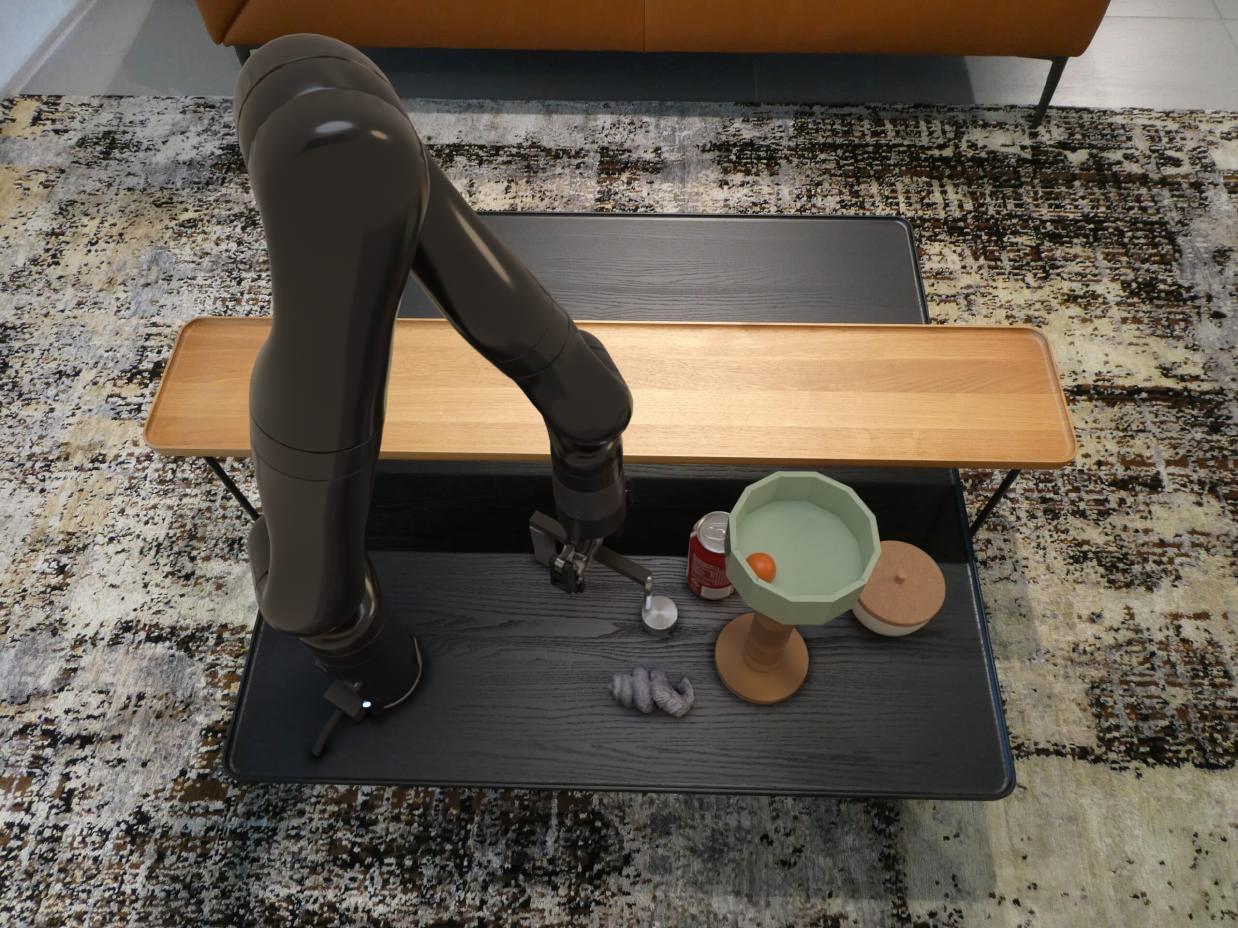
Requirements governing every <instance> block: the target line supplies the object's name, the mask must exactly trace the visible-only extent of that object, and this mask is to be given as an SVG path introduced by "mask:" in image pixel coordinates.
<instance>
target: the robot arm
mask: <svg viewBox="0 0 1238 928" xmlns="http://www.w3.org/2000/svg"><path fill="white" fill-rule="evenodd" d="M232 102H233V103H232V114H233V121H234V128H235V134H236V139H237V142H238V147H239V149H240V152H241V155H242V158H243V162H244V165H245V168H246V172H247V175H248V178H249V182H250V188H251V191H252V194H253V197H254V200H255V204H256V206H257V210H258V213H259V216H260V220H261V224H262V228H263V233H264V239H265V244H266V245H265V246H266V251H267V256H268V265H269V266H268V267H269V275H270V287H271V294H272V295H271V297H272V321H271V323H272V324H271V327H270V331H269V334H268V337H267V339H266V340H265V341H264V343H263V345H262V346H261V347H260V349H259V352H258V353H257V355H256V359H255V361H254V365H253V367H252V371H251V374H250V379H249V391H248V414H249V415H248V416H249V421H248V422H249V439H250V451H251V457H252V465H253V470H254V477H255V481H256V486H257V491H258V495H259V500H260V504H261V508H262V512H263V513H262V515H260V516H259V517H258V518H257V519H256V520H255V522H254V523H253V525H252V526H251V527H250V530H249V532H248V535H247V539H246V550H247V556H248V562H249V568H250V574H251V578H252V583H253V589H254V593H255V599H256V603H257V607H258V610H259V612H260V614H261V616H262V618H263V619H264V620H265V622H266V623H267V624H268V625H269V626H270V627H271V628H272V629H274V630H275V631H277V632H279V633H281V634H284V635H286V636H290V637H294V638H298V639H299V641H301V643H302V644H303V645H304V646H305V647H306V648H307V650H309V651H310V653H311V654H312V655H313V656H314V657H315V658H316V660H315V662H314V666H315V667H316V668H317V669H318V670H319V671H320V672H321V674H322V675H323V676H324V677H325V678H326V679H327V680H328V681H329V682H330V683H331V685H330V686H329V687H328V689H327V690H326V691H325V693H323V695H322V697H323V698H324V700H325V701H326V702H327V703H328V704H330V705H331V706H332V707H334V708H335V710H334V711H333V713H332V714H331V716H330V717H329V719H328V720H327V722H326V723H325V724H324V726H323V728H322V730H321V731H320V733H319V734H318V737H317V738H316V741H315V743H314V746H313V748H312V750H311V752H310V753H312V754H313V755H314V756H315V757H317V758H319V757H320V755H321V753H322V751H323V748H324V746H325V744H326V742H327V740H328V738H329V736H330V735H331V733H332V731H333V730H334V728H335V727H336V725H337V724H338V722H339V721H340V719H341V718H342V716H343V715H344V714H345V715H346V716H347V717H349V718H351V719H352V720H353V721H354V722H355V721H356V722H357V723H360V722H361V721H362V719H363V718H364V717H365V716H366V714H367V713H370V714H371V715H373V716H374V717H376V718H380V717H381V716H382V715H383V714H384V712H385V711H388V710H391V709H393V708H396V707H398V706H400V705H402V704H403V703H404V702H406V701H407V700H408V699H409V698H410V697H411V696H412V695H413V694H414V693H415V691H416V690H417V688H418V687H419V686H420V683H421V680H422V677H423V672H424V662H423V657H422V654H421V652H420V650H419V648H418V643H417V639H416V637H415V636H413V639H412V638H411V637H410V634H409V633H408V631H407V630H406V628H405V626H404V624H403V623H402V620H401V619H400V617H399V616H398V614H397V612H396V611H395V609H394V607H393V604H391V602H390V599H388V597H387V595H386V593H385V592H384V590H383V588H382V586H381V584H380V583H381V582H380V580H379V578H378V575H377V572H376V569H375V567H374V563H373V562H372V559H371V558H370V556H369V553H368V551H367V549H366V548H365V534H366V527H367V522H368V517H369V513H370V508H371V503H372V497H373V491H374V485H375V481H376V474H377V466H378V462H379V456H380V452H381V448H382V443H383V436H384V429H385V424H386V416H387V408H388V397H389V395H388V394H389V386H390V379H391V371H392V365H393V357H394V343H395V332H396V325H397V320H398V316H399V315H398V314H399V311H400V308H401V303H402V301H403V300H402V299H403V296H404V293H405V290H406V286H407V282H408V279H409V275H410V276H411V277H412V279H413V280H414V281H415V282H416V283H417V284H418V286H419V287H420V288H421V289H422V291H423V292H424V294H426V296H427V297H428V299H429V300H430V301H431V302H432V304H433V305H434V306H435V308H436V310H438V311H439V312H440V314H441V315H442V316H443V318H444V319H445V321H447V323H448V324H449V325H450V326H451V327H452V329H453V330H454V331H455V332H456V333H457V334H458V335H459V337H461V338H462V339H463V340H464V341H465V342H466V343H467V344H468V345H469V346H470V347H471V348H472V349H473V350H475V352H477V354H479V355H480V356H481V357H482V358H484V359H485V360H486V361H487V362H488V363H490V364H491V366H493V367H494V368H495V369H497V371H499V372H500V373H502V374H503V375H504V376H505V377H507V378H508V379H510V380H511V381H512V382H513V383H514V384H515V385H516V386H517V387H518V389H520V391H522V393H523V394H524V395H525V397H526V398H527V399H528V400H529V402H530V403H531V404H532V406H533V407H534V408H535V409H536V410H537V412H538V413H539V414H540V415H541V416H542V419H543V422H544V425H545V428H546V431H547V435H548V440H549V451H550V452H549V453H550V459H551V467H552V469H551V483H552V491H553V497H554V498H553V499H554V504H555V509H556V510H555V512H556V516H557V521H558V522H559V523H560V524H561V526H562V527H563V529H564V530H565V532H566V533H567V535H566V540H565V544H563V545H564V546H563V549H562V551H561V553H560V554H558V553H557V554H556V553H553V554H552V555H551V556H550V558H549V566H548V571H549V581H550V585H552V586H553V587H556V588H558V589H559V590H561V591H563V592H565V593H566V594H568V595H571V594H572V593H574V594H576V595H578V594H581V595H582V594H584V592H585V590H586V577H585V574H586V571H587V569H588V568H589V567H591V566H592V565H593V563H594V562H595V560H594V558H595V555H596V552H597V549H598V547H599V546H600V545H603V541H604V539H605V538H606V537H608V536H610V535H611V536H614V537H615V538H617V539H618V538H619V539H620V538H621V537H622V536H623V534H624V520H625V519H626V517H627V513H628V512H627V507H632V505H633V504H634V502H635V484H634V477H633V476H632V475H630V474H627V473H626V467H625V464H624V441H623V433H624V432H625V431H626V430H627V428H628V427H629V425H630V422H631V421H632V417H633V414H634V398H633V394H632V392H631V389H630V387H629V385H628V384H627V382H626V380H625V379H624V377H623V375H622V374H621V372H620V370H619V368H618V367H617V365H616V363H615V361H614V360H613V358H612V357H611V355H610V353H609V351H608V350H607V348H606V347H605V345H604V344H603V343H602V342H601V340H600V339H599V338H598V337H597V336H595V335H594V334H593V333H590V332H589V331H587V330H584V329H580V328H578V326H577V324H576V322H575V321H574V319H573V318H572V317H571V315H570V314H569V312H568V311H567V310H566V309H565V307H564V306H563V305H562V303H560V302H559V300H557V298H555V296H554V295H553V294H552V293H551V292H550V291H549V290H548V289H547V288H546V286H545V285H543V283H542V282H541V281H540V280H539V278H537V276H535V275H534V274H533V272H532V271H531V270H530V269H529V268H528V267H527V266H526V265H525V264H524V263H523V262H522V261H521V260H520V259H519V258H518V256H516V254H514V252H513V251H512V250H511V249H510V248H509V247H508V246H507V245H506V244H505V242H503V241H502V239H500V238H499V236H498V235H497V234H496V233H495V232H494V231H493V230H492V229H491V228H490V227H489V225H488V224H487V223H486V222H485V221H484V220H483V218H481V217H480V216H479V214H478V213H477V212H476V211H475V210H474V209H473V207H472V206H471V205H470V204H469V202H468V201H467V200H466V199H465V198H464V196H463V195H462V194H461V193H460V192H459V190H458V188H456V186H455V185H454V184H453V183H452V182H451V180H450V179H449V177H448V175H446V174H445V172H444V171H443V170H442V168H441V167H440V165H439V164H438V163H437V161H436V160H435V158H434V157H433V156H432V154H431V153H430V152H429V150H428V149H427V147H426V146H425V145H424V142H423V141H422V140H421V138H420V136H419V134H418V133H417V131H416V128H415V126H414V125H413V123H412V120H411V118H410V117H409V115H408V112H407V110H406V109H405V106H404V104H403V102H402V100H401V98H400V96H399V94H398V92H397V90H396V89H395V88H394V86H393V85H392V82H390V80H389V78H388V77H387V76H386V75H385V73H384V72H383V71H382V70H381V68H379V66H378V65H376V63H374V62H373V61H372V60H371V59H370V58H369V57H368V56H367V55H365V54H364V53H362V52H361V51H359V50H358V49H356V47H354V46H352V45H350V44H348V43H345V42H343V41H341V40H340V39H337V38H334V37H331V36H326V35H323V34H320V33H304V32H301V33H294V34H293V33H292V34H285V35H282V36H280V37H277V38H274V39H272V40H269V41H268V42H266V43H265V44H263V45H262V46H261V47H259V48H258V49H256V50H255V51H254V52H253V53H252V54H251V55H250V56H249V57H248V58H247V59H246V61H245V62H244V64H243V66H242V67H241V69H240V71H239V73H238V75H237V79H236V82H235V86H234V88H233V101H232ZM584 552H588V555H587V556H586V555H584V554H582V553H584ZM577 566H578V569H576V567H577ZM413 640H414V641H413Z"/></svg>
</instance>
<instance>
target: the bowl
mask: <svg viewBox="0 0 1238 928" xmlns="http://www.w3.org/2000/svg"><path fill="white" fill-rule="evenodd" d="M880 542H881V540H880V535H879V528H878V523H877V518H876V515H875V514H874V513H873V512H872V511H871V509H870V508H869V507H868V506H867V504H866V503H865V502H864V501H863V500H862V499H861V497H859V495H858V493H856V491H855V490H854V489H853V488H852V487H850V486H848V485H846V484H843V483H842V482H839V481H837V480H835V479H833V478H831V477H828V476H826V475H824V474H822V473H820V472H817V471H793V470H792V471H785V470H784V471H781V470H780V471H778V470H777V471H776V472H774V473H771V474H770V475H768V476H765V477H764V478H762V479H760V480H758V481H755V482H754V483H752V484H750V485H748V486H746V487H745V488H744V490H743V491H742V493H741V495H740V496H739V498H738V500H737V502H736V503H735V505H734V507H733V508H732V510H731V512H730V515H729V518H728V523H727V528H726V534H725V539H724V551H725V568H726V576H727V577H728V579H729V580H730V582H731V583H732V585H733V586H734V587H735V589H736V590H735V591H736V592H737V593H738V595H739V596H740V598H741V599H742V600H743V603H744V604H745V605H746V606H747V607H748V608H750V609H753V610H754V611H755V610H756V611H758V612H760V613H762V614H764V615H766V616H768V617H770V618H772V619H773V620H775V621H777V622H779V623H781V624H788V625H794V626H795V625H798V626H799V625H800V626H801V625H803V626H804V625H805V626H807V625H808V626H822V625H823V626H824V625H825V624H826V623H829V622H831V621H832V620H834V619H835V618H837V617H839V616H841V615H843V614H844V613H846V612H849V610H852V609H851V608H853V607H854V606H855V604H856V602H857V600H858V599H859V597H860V595H861V593H862V591H863V589H864V587H865V585H866V583H867V581H868V579H869V577H870V575H871V573H872V571H873V569H874V567H875V565H876V563H877V561H878V558H879V556H880V554H881V552H882V551H881V545H880ZM758 552H760V553H765V554H767V555H769V556H770V557H771V558H772V559H773V560H774V562H775V564H776V575H775V577H774V579H773V580H772V581H771V582H770V583H767V582H765V581H764V580H762V579H760V578H758V577H757V575H756V574H755V573H754V571H753V570H752V568H751V567H750V566H749V564H748V563H747V561H746V558H747V557H748V556H750V555H751V554H754V553H758Z"/></svg>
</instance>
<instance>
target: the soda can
mask: <svg viewBox="0 0 1238 928" xmlns="http://www.w3.org/2000/svg"><path fill="white" fill-rule="evenodd" d="M730 513H731V512H730ZM730 513H729V512H726V511H720V510H718V511H711V512H709V513H707V514H705V515H704V516H702V517H701V518H700V519H699V520H698V521H697V522H696V523H695V524H694V526H693V527H692V529H691V532H690V534H689V535H690V536H689V545H688V552H687V560H686V561H687V562H686V568H685V569H686V571H685V576H686V577H685V578H686V582H687V584H688V586H689V588H690V589H691V590H692V592H693V593H694V594H696V595H697V596H699V597H701V598H703V599H705V600H712V601H717V600H722V599H725V598H728V597H729V596H731V595H732V594H733V593H734V592H735V591H737V590H736V589H735V587H734V586H733V585H732V583H731V582H730V580H729V579H728V577H727V576H726V568H725V551H724V539H725V534H726V528H727V523H728V518H729V515H730Z"/></svg>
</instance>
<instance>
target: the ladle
mask: <svg viewBox="0 0 1238 928" xmlns="http://www.w3.org/2000/svg"><path fill="white" fill-rule="evenodd" d="M528 522H529V532H530V536H531V541H532V546H533V547H532V548H533V551H534V555H535V560H536V561H538V562H540V563H542V564H543V565H545V566H546V567H549V558H550V556H551V555H552V554H553V553H556V554H558V553H557V547H556V545H557V544H556V541H558V542H559V543H561V544H563V545H565V540H566V535H567V533H566V532H565V530H564V529H563V527H562V526H561V524H560V522H559V521H558V520H555V519H554V518H552V517H550V516H548V515H546V514H544V513H542V512H540V511H539V510H537V509H536V510H535V512H534V513H533V514H532V516H531V517H530V518H529V520H528ZM581 554H582V555H584V556H585V557H587V555H588V552H584V553H581ZM594 562H596V563H598V564H600V565H603V566H604V567H606V568H608V569H610V570H612V571H613V572H616V573H617V574H618V575H619V574H620V575H621V576H622V577H625V578H627V579H629V580H630V581H632V582H634V583H636V584H638V585H639V586H641V587H643V605H642V607H641V624H642V626H643V628H644V629H645V631H647V632H648V633H649V634H650V635H654V636H665V635H668V634H670V633H672V632H673V631H674V629H675V628H676V626H677V624H678V616H679V610H678V606H677V605H676V602H674V601H673V600H672V599H671V598H669V597H667V596H663V595H654V596H653V586H654V585H653V583H654V578H653V576H652V574H653V571H652V570H651V569H648V568H647V567H645V566H642V565H641V564H639V563H637V562H635V561H634V560H631V559H629V558H628V557H626V556H624V555H621V554H620V553H618V552H616V551H615V550H612V549H610V548H608V547H606V546H605V545H603V544H601V545H600V546H599V547H598V549H597V552H596V555H595V558H594Z"/></svg>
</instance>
